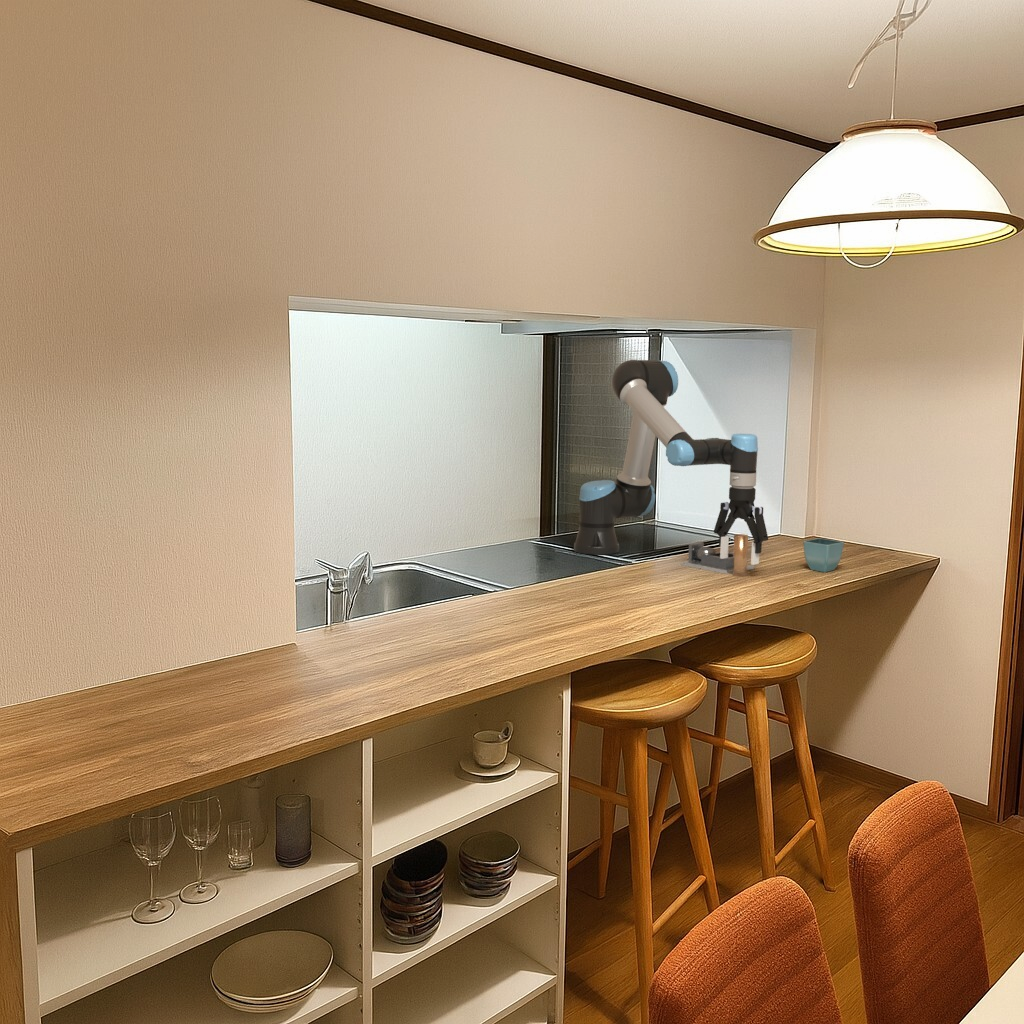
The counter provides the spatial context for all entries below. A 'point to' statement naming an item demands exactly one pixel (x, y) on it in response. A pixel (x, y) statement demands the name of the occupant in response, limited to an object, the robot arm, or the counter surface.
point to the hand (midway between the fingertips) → (739, 561)
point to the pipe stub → (740, 555)
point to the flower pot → (823, 554)
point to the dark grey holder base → (709, 559)
